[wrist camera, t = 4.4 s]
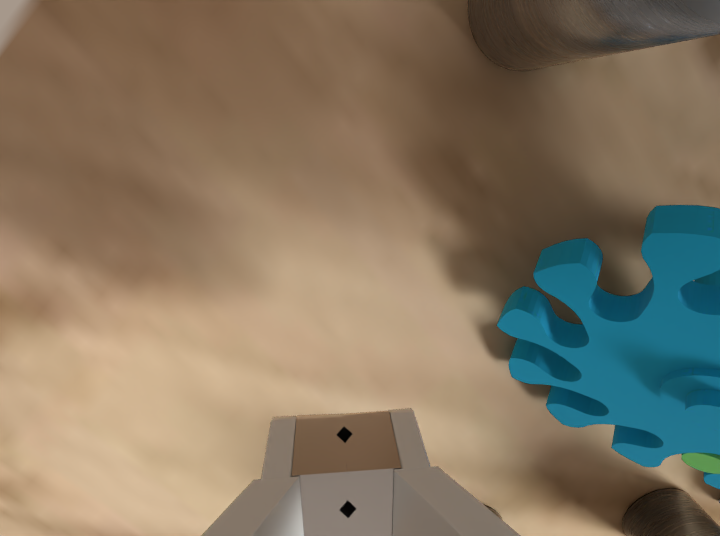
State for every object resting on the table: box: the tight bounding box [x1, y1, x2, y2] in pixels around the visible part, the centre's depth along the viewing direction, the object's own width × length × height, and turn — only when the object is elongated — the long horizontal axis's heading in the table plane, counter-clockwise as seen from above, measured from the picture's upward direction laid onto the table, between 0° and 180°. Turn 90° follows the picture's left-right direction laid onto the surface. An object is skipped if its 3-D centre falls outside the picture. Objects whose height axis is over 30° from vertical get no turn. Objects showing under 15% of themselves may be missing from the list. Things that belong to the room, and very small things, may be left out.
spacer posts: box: [468, 0, 720, 536], centre depth 11 cm, size 11×21×6 cm, turn 0°
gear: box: [497, 205, 720, 489], centre depth 11 cm, size 11×6×10 cm
